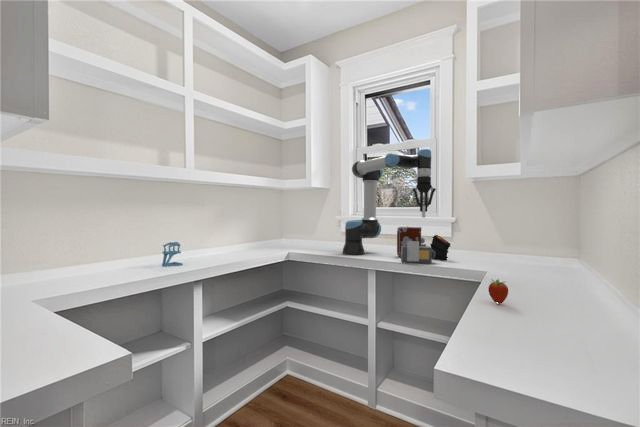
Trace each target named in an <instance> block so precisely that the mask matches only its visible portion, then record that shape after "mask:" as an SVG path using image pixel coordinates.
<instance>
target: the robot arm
mask: <svg viewBox="0 0 640 427" xmlns="http://www.w3.org/2000/svg"><path fill="white" fill-rule="evenodd" d="M392 168H402V169H404V170H411V169H415V168H417V173H416V174H417V177H416V187H413V188H412V192H413V194H414V199H415V202H416V205H417V206H419V212H421V218H426V212H428V206H430V205H432V200H433V196H434V193H435V192H436V190H437V189H436V188H435V187H433V186H432V177H431V175H432V150H430V149H428V148H421V149H418V151H417V153H416V154H414V155H410V154H401V153H397V152H396V153H395V152H388V153H387V154H386V155H385V156H380V157H376V158H373V159H369V160H368V159H367V160H359V161H355V162H354V164H352V167H351V172H352V174H353V176H355V177H356V178H359V179H362V182H363V184H364V186H363V189H364V190H363V194H364V195H363V217H362V218H361V219H354V220H347V221H346V222H345V227H344V229H345V230H344V231H345V234H344V236H345V241H344V245H343V249H342V254H343V255H349V256H362V255H365V248H364V246H363V239H374V238H378V237H379V236H380V235H381V232H382V226H381V223H380V222H379V219H378V218H377V186H378V185H377V184H378V183H379V181H380V179H381V178H382V176H383V170H385V169H392ZM417 191H418V192H419V196H418V192H417ZM429 191H431V192H430V194H429V199H428V193H429ZM423 204H424V205H423Z"/></svg>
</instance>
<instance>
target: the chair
mask: <svg viewBox="0 0 640 427" xmlns="http://www.w3.org/2000/svg"><path fill="white" fill-rule="evenodd" d="M162 246H163V251H162V254H163V260H162V264H161V266H162V267H174V266H175V267H176V266H183V265H184V263H182V262H179V261H173V262H172V261H171V259H172V258H173V257H174V255H178V254H181V253H182V251H181V250H180V249H181V248H180V247H181V244H180V243H179V242H178V241H175V242H167V243H166V244H163V245H162ZM166 247H168V251H167V248H166ZM175 247H177V250H175V249H176V248H175ZM171 248H172V249H171Z"/></svg>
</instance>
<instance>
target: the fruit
mask: <svg viewBox="0 0 640 427" xmlns="http://www.w3.org/2000/svg"><path fill="white" fill-rule="evenodd" d="M499 279H500V278H499V277H498V278H497V279H496V280H493V279H491V282H490V284H489V285H488V293H489V294H488V295H489V296H490V297H491V299H492V300H493V302H494V303H495V302H498V303H501V304H503V303H504V302H505V301H506V299H507V297H508V295H509V287H508V286H507V284H505V281H501V282H500V280H499Z"/></svg>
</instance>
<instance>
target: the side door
mask: <svg viewBox="0 0 640 427" xmlns="http://www.w3.org/2000/svg"><path fill="white" fill-rule="evenodd" d="M407 261H419V241H407Z"/></svg>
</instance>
